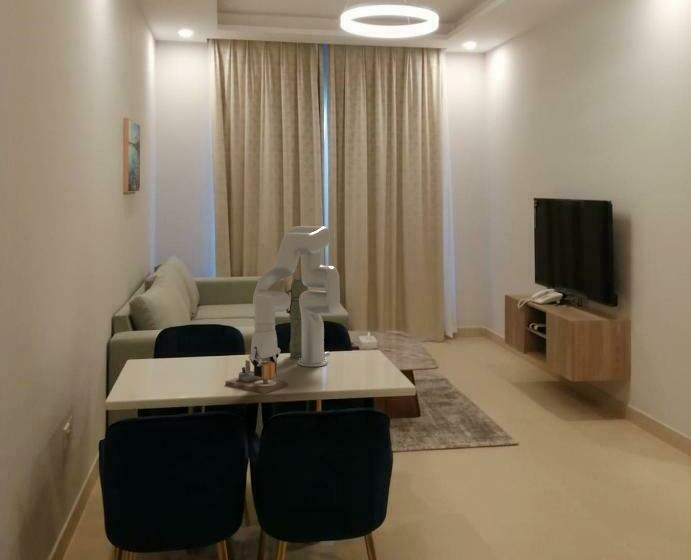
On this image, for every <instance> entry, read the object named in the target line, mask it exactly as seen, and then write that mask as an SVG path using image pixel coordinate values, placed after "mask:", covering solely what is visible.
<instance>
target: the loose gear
mask: <svg viewBox="0 0 691 560" xmlns="http://www.w3.org/2000/svg"><path fill="white" fill-rule="evenodd" d="M263 363H267V364H263ZM260 366H261V377H257V376H255V377H257V378H264V379H267V378H270V379H274V377H276V375H275V362H273V361H269V362H268V361H262V362H261V364H260Z"/></svg>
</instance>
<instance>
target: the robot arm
mask: <svg viewBox="0 0 691 560" xmlns="http://www.w3.org/2000/svg"><path fill="white" fill-rule="evenodd" d="M330 241H331V232H330V230H329V229H328V228H327V227H326V226H318V225H317V226H316V225H297V226H292V227H291V228H290V229H289V232H288V233H286V234H285V235H284V236H282V240H281V242H280V245H279V249H278V252H277V256H276V259H275V261H274V265H272V267H270V268H269V269H267V271H266V272H264V273H263V274H262V276H261V277H259V279H258V281H257V283H256V286H255V289H254V292H253V296H252V305H253V307H254V331H253V332H252V337H251V347H250V353H249V355H248V360H250V364H252V366H253V371H254V376H257V377H261V366H260V364H261V361H262V359H265V358H269V360H270V361H273V362H275V373H276V362H277V363H278V359H279V356H280V353H281V349H280V347H278V336H277V330H276V312H277V313H279V312H284V311H286V310H287V309H288V307H289V308H290V304H291V296H290V295H288V294H287V293H286V292H284V291H275V290H269V288H270V287H271V286H272V285H274V284H275V283H276V282H278V281H281V280H283V279H285V278H287V277H290V276H292V275H294V274H295V272H296V271H297V267H298V263H299V261H300V263H301V264H300V266H301V279H302V282H303V284H304V286H306V287H308V288H312V289H325V290H311V289H309V290H308V291H304V292H303V293H302V294H301V295H300V297H299V306H300V311H301V325H302V328H301V333H302V359H298V361H297V364H298V365H299V366H302V367H310V368H315V367H317V368H319V367H323V366H327V364H328V360H327V359H326V357H330V355H331V353H330V352H329V351H325V347H324V346H325V341H324V339H325V327H324V325H325V324H324V320H323V318H322V315H320V314H324V315H335V314H337V313H338V312H339V310H340V308H341V307H340V306H341V292H340V291H341V289H340V287H341V286H340V283H341V282H340V273H339V271H338V269H337V268H336V267H335V266H332V265H324V264H323V263H322V254H321V250H324V249H325V248H326V247H327V246H328V245H329V243H330ZM257 359H258V362H257Z"/></svg>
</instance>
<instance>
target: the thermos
mask: <svg viewBox="0 0 691 560" xmlns="http://www.w3.org/2000/svg"><path fill="white" fill-rule="evenodd" d="M308 290H310V289H309V287H306V286H304V284H303V282H302V278H293V279H292V280H291V284H290V289H287V291H286V292H285V293H287V294H288V295H289V293H290V295H289V296H290V301H291V302H290V306H289V307H288V309H287V310H285V311H286V314H289V319H290V341H289V352H290V353H289V354H290V355H289V358H290V357H291V359H293V358H298V359H297V360H300V359H299V358H302V333H301V328H302V325H301V311H300V306H299V297H300V295H301V294H302V293H303V292H304V291H308Z"/></svg>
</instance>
